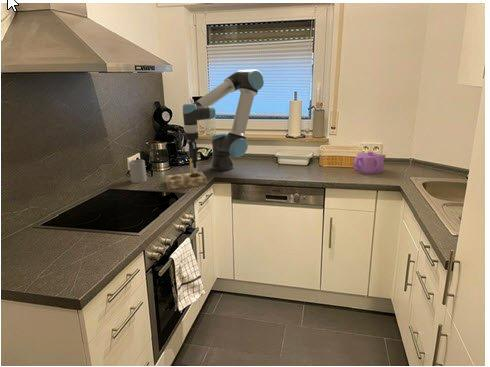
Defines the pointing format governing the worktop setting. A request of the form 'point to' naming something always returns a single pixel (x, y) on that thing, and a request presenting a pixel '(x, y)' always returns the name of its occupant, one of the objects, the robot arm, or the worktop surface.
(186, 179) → the jig
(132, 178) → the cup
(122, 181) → the worktop surface
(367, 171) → the teakettle
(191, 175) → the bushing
